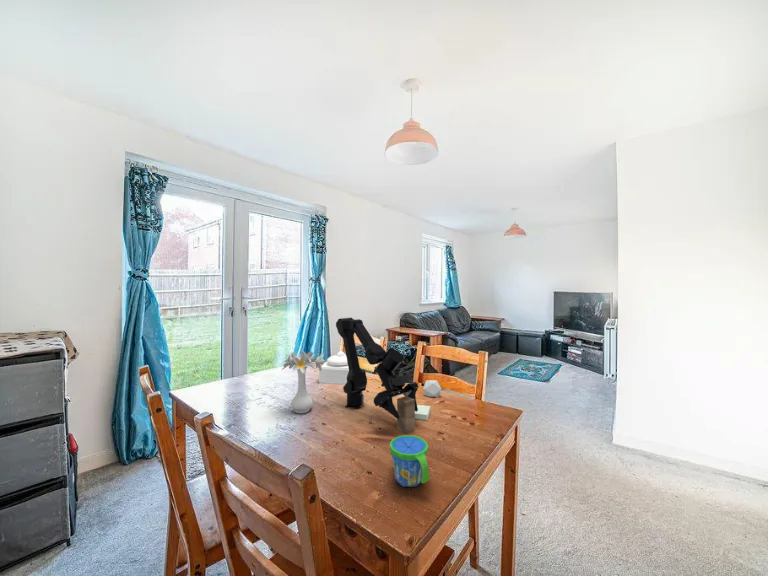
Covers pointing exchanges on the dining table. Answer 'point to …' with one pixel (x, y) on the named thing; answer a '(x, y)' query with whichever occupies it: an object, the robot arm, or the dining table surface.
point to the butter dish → (334, 370)
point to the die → (432, 388)
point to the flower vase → (302, 379)
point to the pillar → (406, 414)
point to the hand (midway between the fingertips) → (408, 414)
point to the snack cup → (409, 460)
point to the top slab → (422, 412)
